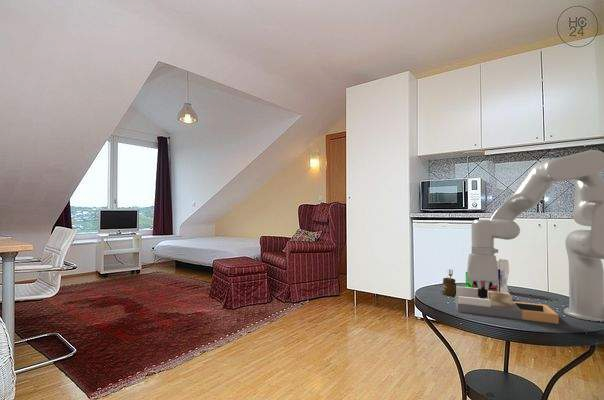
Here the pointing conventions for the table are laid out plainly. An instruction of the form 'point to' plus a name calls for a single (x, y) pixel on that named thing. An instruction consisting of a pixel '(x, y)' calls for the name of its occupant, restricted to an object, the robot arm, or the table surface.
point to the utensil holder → (449, 285)
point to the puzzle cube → (492, 288)
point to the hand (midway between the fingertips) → (482, 298)
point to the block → (500, 299)
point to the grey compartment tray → (526, 311)
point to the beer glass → (502, 274)
